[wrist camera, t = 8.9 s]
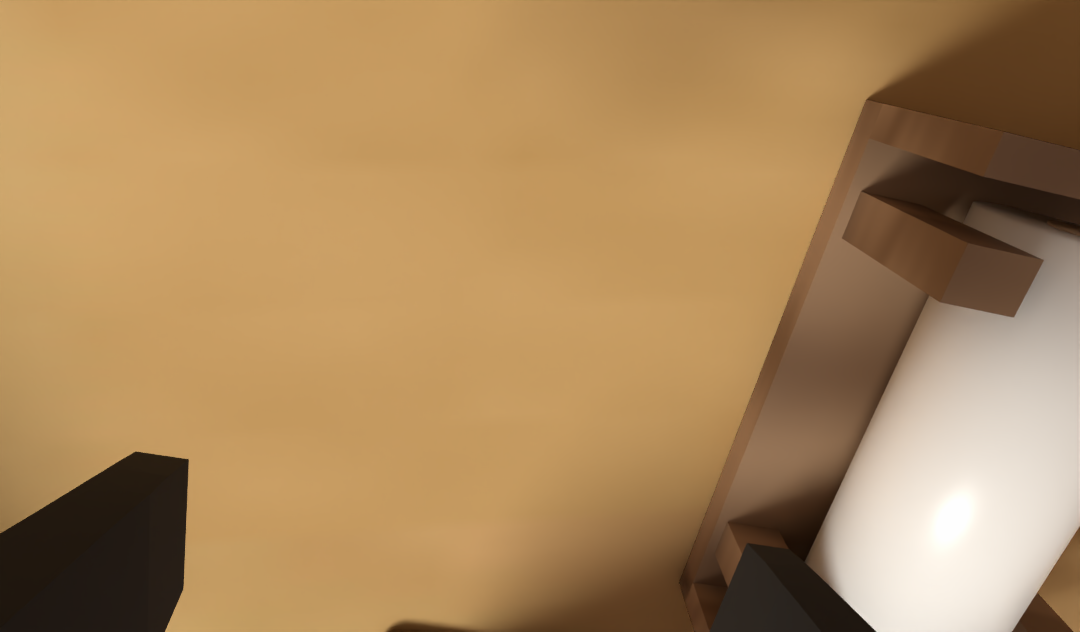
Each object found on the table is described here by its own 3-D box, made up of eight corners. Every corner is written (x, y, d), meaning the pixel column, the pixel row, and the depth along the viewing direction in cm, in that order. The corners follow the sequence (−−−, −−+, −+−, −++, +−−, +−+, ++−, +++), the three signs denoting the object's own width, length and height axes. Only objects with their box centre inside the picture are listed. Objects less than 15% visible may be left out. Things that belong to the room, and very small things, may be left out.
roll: (949, 627, 21) (980, 762, 17) (788, 559, 22) (779, 668, 18) (1175, 246, 17) (1296, 299, 12) (957, 188, 18) (998, 218, 14)
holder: (958, 622, 24) (1068, 767, 19) (678, 583, 22) (725, 729, 18) (1220, 186, 18) (1463, 244, 14) (866, 99, 17) (1004, 131, 12)
